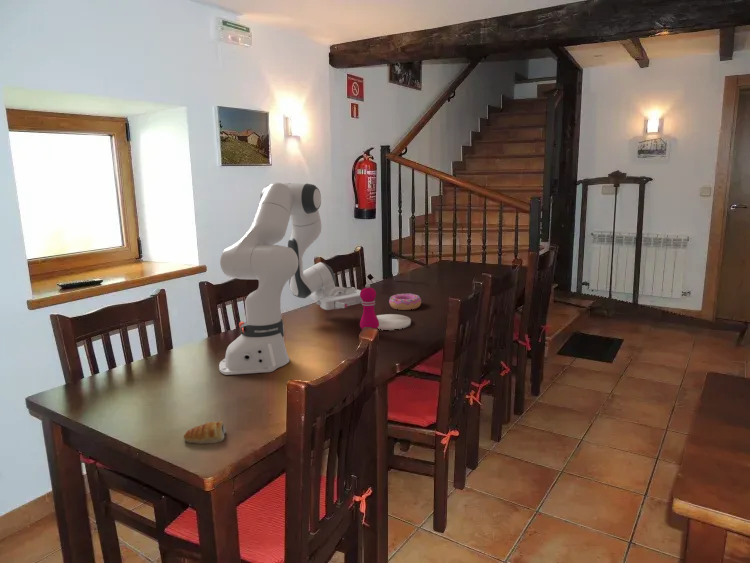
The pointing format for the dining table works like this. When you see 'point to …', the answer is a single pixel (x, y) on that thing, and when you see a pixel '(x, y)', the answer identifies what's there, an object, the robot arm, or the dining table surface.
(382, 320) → the trivet
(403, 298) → the donut
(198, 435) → the pastry
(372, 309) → the pepper mill
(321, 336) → the dining table surface
